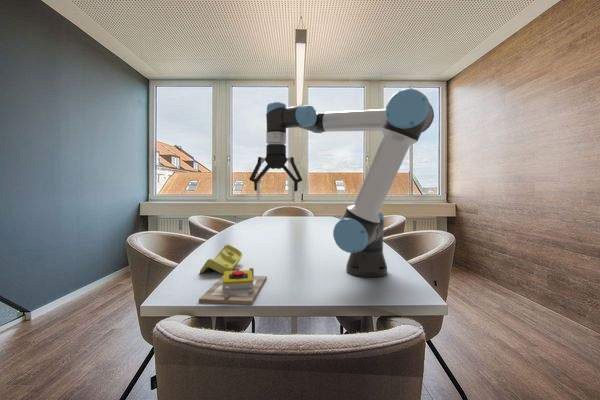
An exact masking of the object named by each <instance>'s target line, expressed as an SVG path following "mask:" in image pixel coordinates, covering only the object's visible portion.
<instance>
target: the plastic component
mask: <svg viewBox="0 0 600 400" xmlns="http://www.w3.org/2000/svg"><path fill="white" fill-rule="evenodd" d="M242 258H243V253H242V251H241V250H239V249H238V248H237V247H234V246H232V245H231V244H225V245H224V247H222V249H221V250H220V252H219V253H218V254H216V256H215V258H213V259H212V258H208V259H207V260H206V262H204V264H203V266H202V267H201V269H200V271H199V273H201V274H203V273H205V272H206V271H207V270H208V269H211V270H214V271H215V272H217V273H220V274H221V275H224V272H225V271H234V270H235V268H236V267H238V264H239V263H240V261H241V259H242Z"/></svg>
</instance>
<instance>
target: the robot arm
mask: <svg viewBox="0 0 600 400" xmlns="http://www.w3.org/2000/svg"><path fill="white" fill-rule="evenodd" d="M265 116H266V135H265V136H266V138H265V139H266V141H265V142H266V148H265V149H266V150H265V151H266V152H265V153H266V156H265V157H262V156H258V158H257V163H256V165H255V167H254V169H253V171H252V172H251V175H250V177H249V181H250V182H253V183H254V184H253V186H254V188H253V189H254V190H253V191H254V192H256V200H261V182H259V181H260V180H261V179H262V178H263V177H264V175H266V173H267V172H268V171H269V170H270V169H272V170H275V169H277V170H281V169H283V170H284V171H285V173H286V174H287V175H288V177H289V178H290V179H291V180H292V181H293V182H292V184H291V187H292V188H291V201H295V199H296V195H295V193H296V192H298V188H299V186H298V184H299V183H300V182H302V181H303V178H302V176H301V174H300V171H299V170H298V168H297V165H296V162H295V157H293V156H291V157H287V145H286V144H287V129H292V128H299V129H303V130H306V131H310V132H311V133H314V134H323V133H325V132H382V134H383V136H382V139H381V141H380V143H379V144H378V147H377V150H376V153H375V154H374V156H373V159H372V161H371V164H370V166H369V169H368V171H367V173H366V174H365V175H366V176H365V178H364V180H363V183H362V184H361V187H360V189H359V191H358V194H357V196H356V198H355V200H354V203H353V204H350V205H349V206H347V208H346V210H345V212H344V214H343V216H342V218H340V219H339V220H338V221H337V222H336V224H335V225H334V227H333V232H332V234H333V240H334V241H335V244H336V245H337V246H338V248H339V249H341V250H342V251H343V252H346V253H349V257H348V260H347V262H346V270H345V271H346V272H347V274H351V276H356V277H357V276H358V277H360V278H361V277H362V278H380V277H383V276H386V275H387V274H388V266H387V265H388V264H387V262H386V259H385V255H384V225H385V224H384V223H385V219H384V214H383V212H380V211H381V209H382V206H383V205H384V202H385V201H386V198H387V196H388V194H389V191H390V190H391V187H392V185H393V183H394V181H395V178H396V177H397V174H398V173H399V170H400V167H401V166H402V164H403V161H404V159H405V158H406V154H407V152H408V150H409V148H410V147H411V146H412V145H414V144H417V142H418V141H419V139H420V137H421V135H422V133H425V132H426V131H427V130H429V128H430V127H431V125H432V123H433V122H434V118H435V112H434V108H433V106H432V104H431V103H430V101H429V99H428V97H427V95H425V94H424V93H423V92H421V91H419V90H417V89H414V88H405V89H401V90H399V91H397V92H395V93H394V94H393V95H392V96H391V97H390V98H389V100H388V102H387V103H386V106H385V108H381V109H364V110H363V109H362V110H341V111H339V110H338V111H323V112H320V111H319V112H317V110H316V109H315V107H314V106H313V105H311V104H301V105H295V106H289V107H288V106H287V104H286V103H285V102H280V101H273V102H272V101H271V102H269V103H268V104H267V105H266V114H265ZM264 162H265V163H266V165H265V167H264V168H263V169H262V170H261V171H260V168H261V166H262V164H263V163H264ZM287 162H288V163H289V164H290V165H291V168H292V169H293V171H294V173H295V175H296V176H294V174H293V173H292V172H291V170H289V168H288V167H287V166H286V165H285V164H286V163H287ZM259 171H260V173H259ZM296 177H297V178H296Z"/></svg>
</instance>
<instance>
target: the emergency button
mask: <svg viewBox="0 0 600 400" xmlns="http://www.w3.org/2000/svg"><path fill="white" fill-rule="evenodd" d="M223 276H224V277H223V288H222V294H224V287H229V294H236V293H252V292H254V285H253V276H252V271H251V270H249V269H247V270H246V269H245V270H244V269H243V270H239V271H235V270H232V271H225V272H224V274H223Z"/></svg>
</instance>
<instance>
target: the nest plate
mask: <svg viewBox="0 0 600 400" xmlns="http://www.w3.org/2000/svg"><path fill="white" fill-rule="evenodd" d="M248 270H251V271H252V276H253V285H254V292H252V293H236V294H229V287H224V294H222V288H223V277H224V275H222V276H221V277H220V278H219V279H218V280H217V281H216V282H215V283H214V284H213V285H212V286H210V288H209V289H207V291H205V292H204V293H203V294H202V295H201V296H200V297H198V298H199V299H198V303H200V304H201V303H203V304H205V303H206V304H225V305H226V304H227V305H228V304H230V305H231V304H232V305H233V304H234V305H253V304H254V302H255V300H256V298H257V297H258V295H259V293H260V292H261V289H262V288H263V286H264V285H265V283H266V281H267V278H268V276H266V275H255V274H254V272H255V271H254V267H249V269H248ZM234 271H240V267H238V266H236V267H235V268H234Z"/></svg>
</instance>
